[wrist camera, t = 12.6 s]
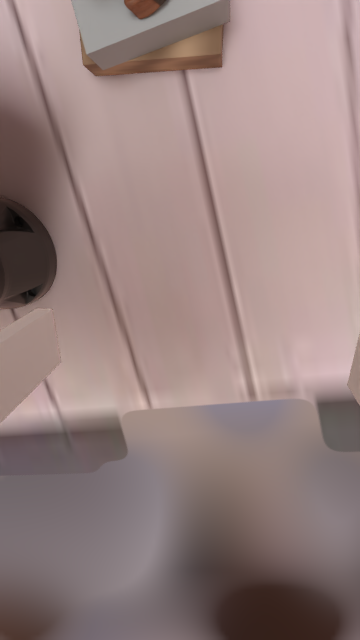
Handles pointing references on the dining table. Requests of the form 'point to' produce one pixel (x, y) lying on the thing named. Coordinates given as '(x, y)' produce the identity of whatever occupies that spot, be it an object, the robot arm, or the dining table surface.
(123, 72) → the base slab
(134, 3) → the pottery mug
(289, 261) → the dining table surface
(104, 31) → the top slab
